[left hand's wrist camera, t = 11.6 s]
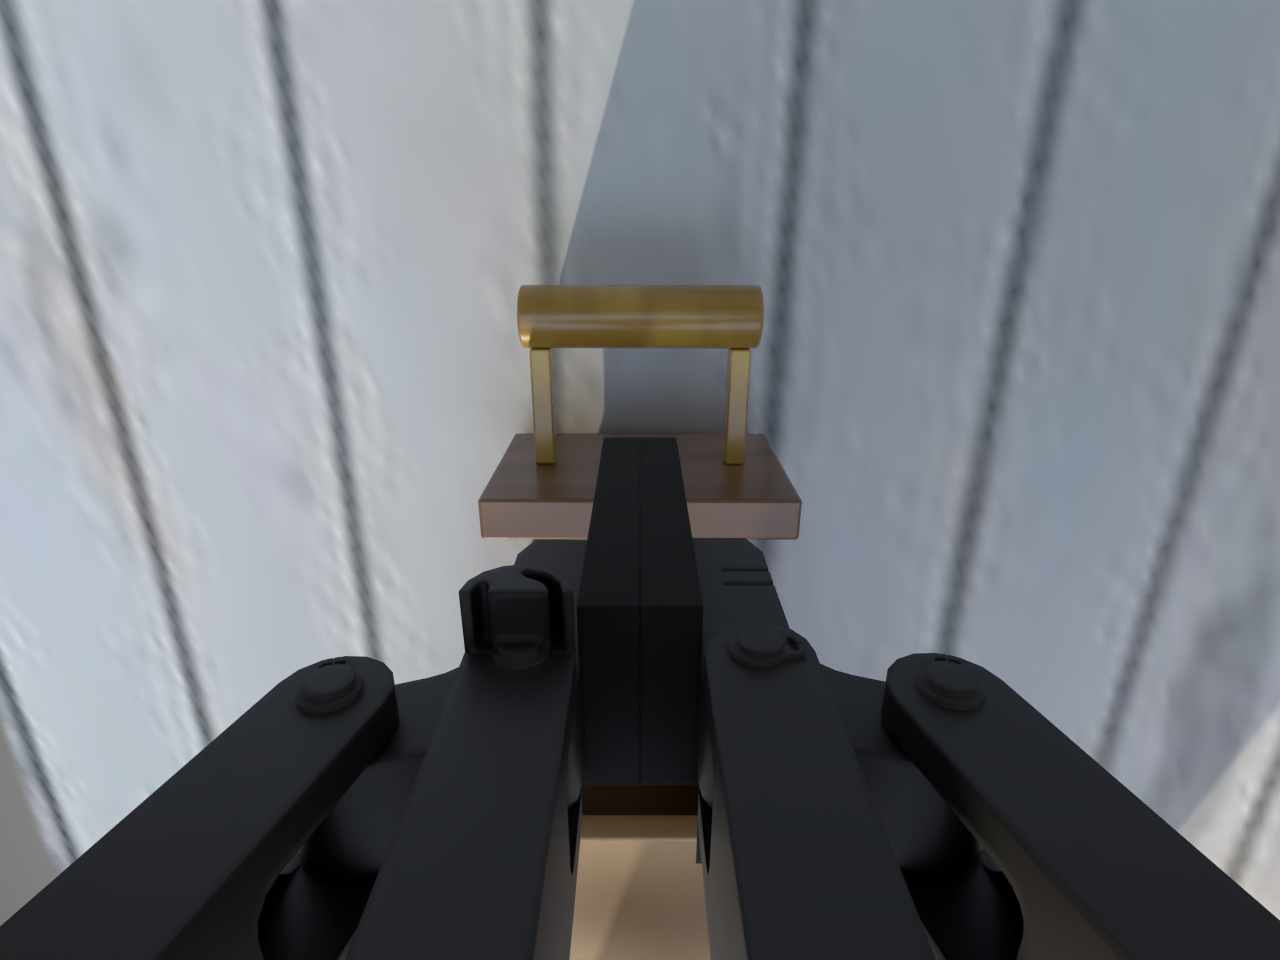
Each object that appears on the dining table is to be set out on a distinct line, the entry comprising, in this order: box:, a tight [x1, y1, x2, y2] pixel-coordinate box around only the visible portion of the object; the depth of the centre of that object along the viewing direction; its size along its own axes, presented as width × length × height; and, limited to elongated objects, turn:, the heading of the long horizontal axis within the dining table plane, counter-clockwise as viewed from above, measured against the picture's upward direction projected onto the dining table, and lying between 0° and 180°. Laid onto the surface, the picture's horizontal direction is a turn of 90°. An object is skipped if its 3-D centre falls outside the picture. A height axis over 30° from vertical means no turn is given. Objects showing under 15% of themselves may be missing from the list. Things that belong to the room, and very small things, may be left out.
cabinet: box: [570, 815, 711, 960], centre depth 29 cm, size 20×10×8 cm, turn 0°
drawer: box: [478, 285, 802, 815], centre depth 24 cm, size 24×9×6 cm, turn 0°
